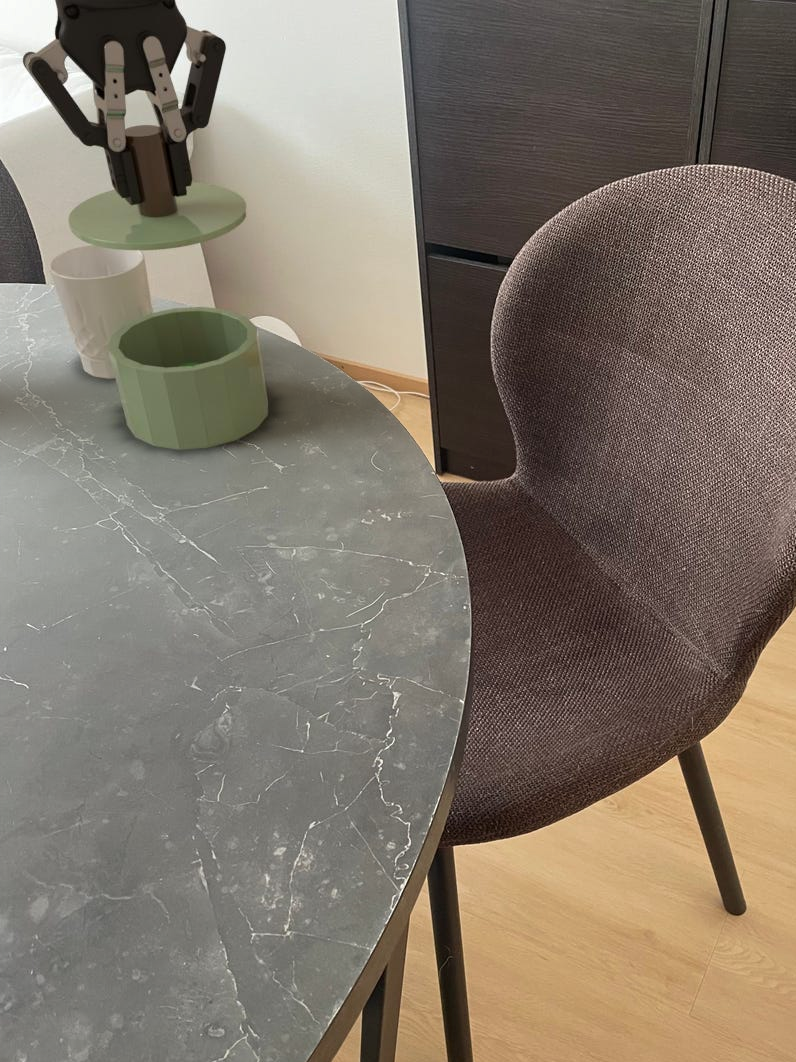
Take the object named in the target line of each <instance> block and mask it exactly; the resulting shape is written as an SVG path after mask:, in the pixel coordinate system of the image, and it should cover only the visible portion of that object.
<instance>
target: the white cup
mask: <svg viewBox="0 0 796 1062" xmlns="http://www.w3.org/2000/svg"><path fill="white" fill-rule="evenodd" d="M145 258H146V257H145V254H144V252H143V250H119V249H111V248H105V247H100V246H96V245H92V244H84V245H80V246H76V247H72V248H69V249H67V250H64V251H62V252H60V253H58V254H57V255H55V256H54V257H53V258H52V259H51V260H50V261H49V263H48V270H49V272H50V276H51V279H52V282H53V285H54V289H55V291H56V294H57V297H58V301H59V303H60V304H59V305H60V307H61V310H62V313H63V316H64V319H65V321H66V324H67V327H68V331H69V333H70V336H71V338H72V341H73V344H74V347H75V348H76V350H77V352H78V355H79V358H80V361H81V364H82V368H83V370H84V372H86V373H87V374H89V375H91V376H92V377H95V378H102V379H110V380H111V379H115V375H114V371H113V367H112V363H111V359H110V355H109V351H108V347H109V343H110V340H111V336H112V335H113V334H114V333H115V332H117V331H118V330H119V329H120V328H121V327H122V326H124V325H125V324H126V323H129V322H131V321H133V320H135V319H138V318H140V317H142V316H145V315H148V314H151V313H155V312H154V307H153V301H152V295H151V289H150V282H149V277H148V271H147V265H146V259H145Z"/></svg>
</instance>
